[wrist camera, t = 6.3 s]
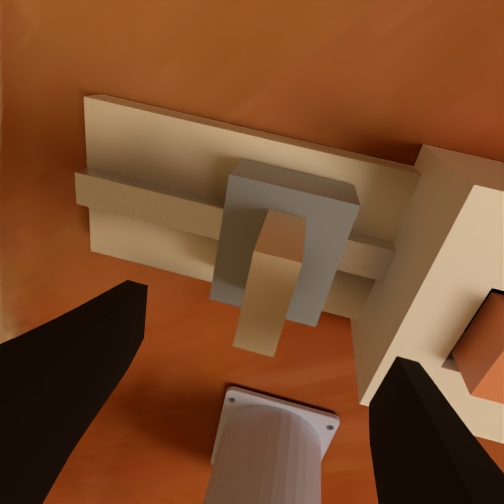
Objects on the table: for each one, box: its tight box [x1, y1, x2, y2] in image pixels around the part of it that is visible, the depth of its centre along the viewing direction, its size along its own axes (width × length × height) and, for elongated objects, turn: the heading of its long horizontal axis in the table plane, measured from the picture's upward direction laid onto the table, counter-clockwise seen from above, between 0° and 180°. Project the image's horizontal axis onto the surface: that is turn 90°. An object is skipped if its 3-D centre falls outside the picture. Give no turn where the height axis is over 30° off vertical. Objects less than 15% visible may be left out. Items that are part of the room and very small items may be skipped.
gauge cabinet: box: [350, 144, 504, 444], centre depth 15 cm, size 10×8×6 cm
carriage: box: [209, 159, 360, 357], centre depth 14 cm, size 6×5×6 cm
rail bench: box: [84, 94, 422, 320], centre depth 18 cm, size 8×15×2 cm, turn 79°
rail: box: [75, 167, 396, 281], centre depth 17 cm, size 2×15×1 cm, turn 79°
